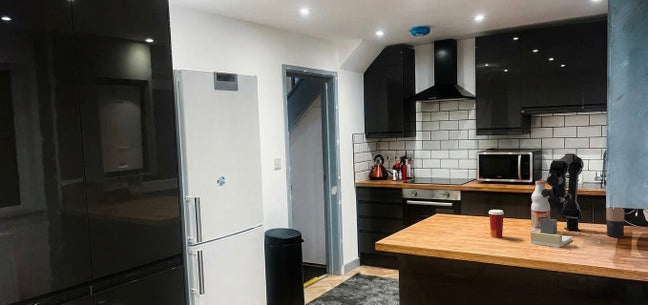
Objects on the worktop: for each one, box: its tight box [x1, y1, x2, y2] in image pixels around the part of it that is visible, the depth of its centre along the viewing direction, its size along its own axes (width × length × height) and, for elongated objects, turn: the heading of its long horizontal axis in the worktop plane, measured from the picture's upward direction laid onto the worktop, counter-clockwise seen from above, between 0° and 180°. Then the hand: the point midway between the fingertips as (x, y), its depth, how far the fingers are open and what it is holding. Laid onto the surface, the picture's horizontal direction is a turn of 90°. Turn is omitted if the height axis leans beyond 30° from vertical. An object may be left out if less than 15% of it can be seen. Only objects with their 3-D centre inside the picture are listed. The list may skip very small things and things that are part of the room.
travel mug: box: [606, 207, 625, 239], centre depth 225 cm, size 8×8×20 cm
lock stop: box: [540, 218, 558, 234], centre depth 217 cm, size 5×6×10 cm
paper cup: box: [488, 209, 505, 239], centre depth 233 cm, size 8×8×14 cm
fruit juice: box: [530, 180, 551, 232], centre depth 241 cm, size 9×9×28 cm
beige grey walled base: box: [530, 230, 573, 248], centre depth 220 cm, size 20×13×6 cm, turn 134°
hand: (559, 214), depth 228 cm, fingers closed
